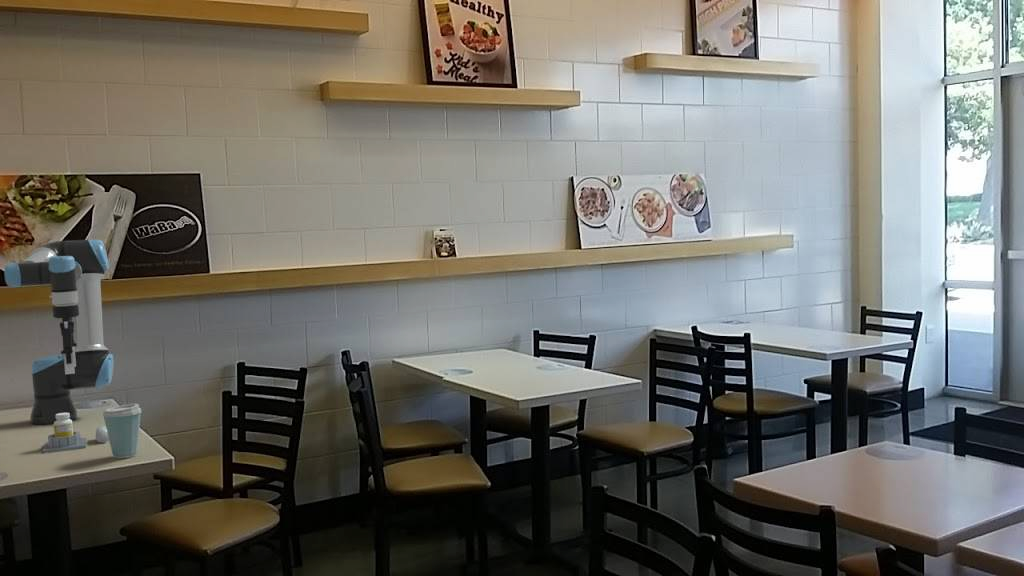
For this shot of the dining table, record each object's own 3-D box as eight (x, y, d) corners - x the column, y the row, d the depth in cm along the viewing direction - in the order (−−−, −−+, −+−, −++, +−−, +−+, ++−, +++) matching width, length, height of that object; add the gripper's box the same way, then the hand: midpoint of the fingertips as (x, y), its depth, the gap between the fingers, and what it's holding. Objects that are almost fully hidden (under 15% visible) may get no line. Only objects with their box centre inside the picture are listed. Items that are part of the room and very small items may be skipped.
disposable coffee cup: (106, 462, 275) (102, 411, 274) (105, 454, 285) (102, 405, 284) (145, 457, 279) (141, 407, 278) (143, 449, 289) (140, 401, 288)
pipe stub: (96, 438, 307) (95, 426, 307) (109, 437, 309) (108, 425, 309) (96, 443, 300) (95, 431, 300) (109, 442, 302) (109, 429, 301)
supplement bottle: (69, 445, 296) (67, 415, 295) (52, 446, 295) (49, 416, 295) (77, 441, 301) (74, 411, 300) (59, 442, 301) (57, 412, 300)
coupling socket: (44, 445, 301) (43, 433, 301) (86, 440, 306) (85, 428, 306) (42, 453, 290) (41, 440, 290) (85, 447, 295) (84, 435, 295)
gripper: (54, 301, 313) (59, 365, 315) (50, 309, 290) (56, 378, 292) (79, 300, 316) (84, 363, 318) (77, 307, 293) (82, 375, 295)
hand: (70, 370), depth 305 cm, fingers open, 13 cm apart
